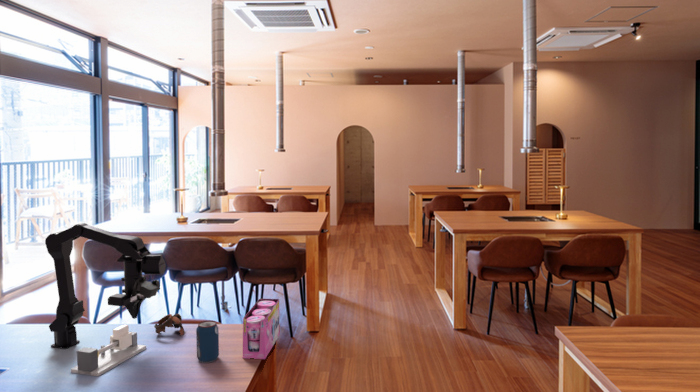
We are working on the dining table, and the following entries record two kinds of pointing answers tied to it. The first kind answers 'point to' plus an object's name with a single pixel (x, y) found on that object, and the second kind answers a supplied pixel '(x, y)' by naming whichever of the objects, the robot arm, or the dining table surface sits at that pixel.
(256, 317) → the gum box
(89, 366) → the slider rail board
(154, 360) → the dining table surface
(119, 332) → the white slider block
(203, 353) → the soda can
